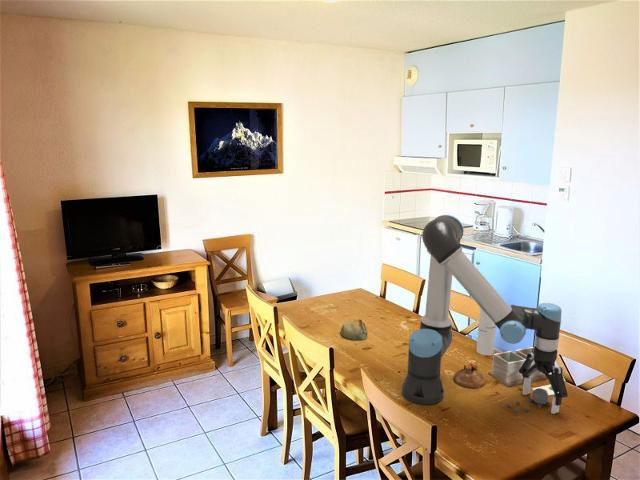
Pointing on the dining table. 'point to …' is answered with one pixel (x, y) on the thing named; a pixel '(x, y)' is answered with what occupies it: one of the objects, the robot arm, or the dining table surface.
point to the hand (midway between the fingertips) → (540, 403)
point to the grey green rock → (354, 330)
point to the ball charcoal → (540, 396)
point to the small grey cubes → (526, 407)
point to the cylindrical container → (485, 334)
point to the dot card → (546, 389)
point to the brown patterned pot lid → (469, 376)
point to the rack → (512, 367)
